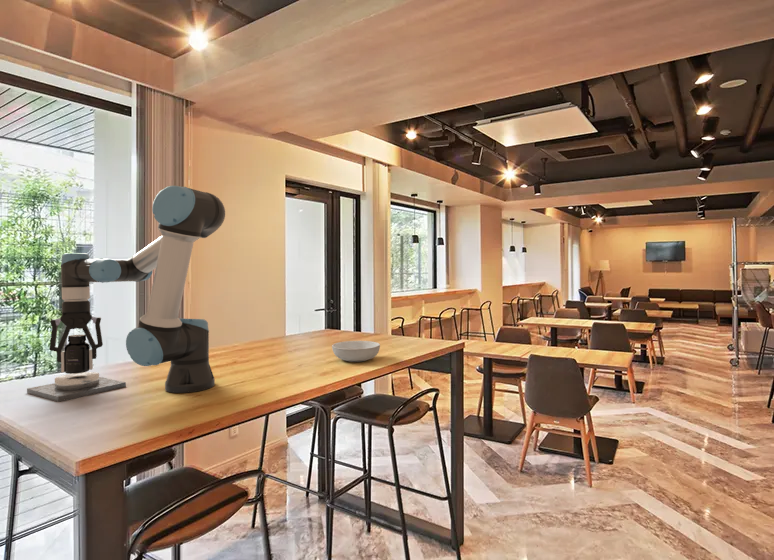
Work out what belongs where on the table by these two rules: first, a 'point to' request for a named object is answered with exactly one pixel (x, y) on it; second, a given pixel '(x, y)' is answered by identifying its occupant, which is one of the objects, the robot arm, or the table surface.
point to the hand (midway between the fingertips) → (77, 370)
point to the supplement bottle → (76, 355)
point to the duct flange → (75, 386)
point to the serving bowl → (356, 350)
